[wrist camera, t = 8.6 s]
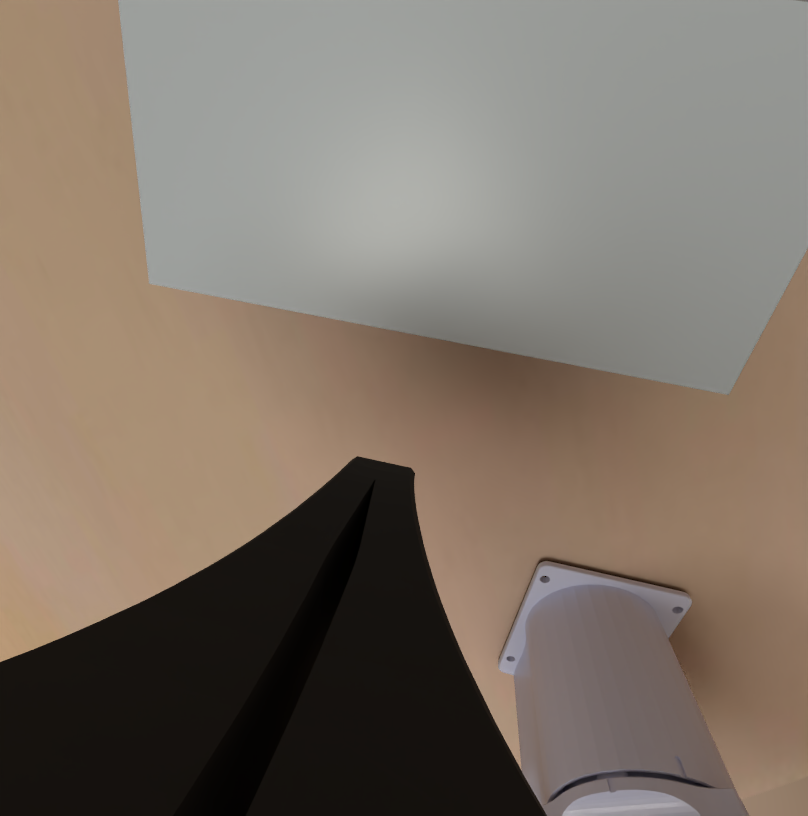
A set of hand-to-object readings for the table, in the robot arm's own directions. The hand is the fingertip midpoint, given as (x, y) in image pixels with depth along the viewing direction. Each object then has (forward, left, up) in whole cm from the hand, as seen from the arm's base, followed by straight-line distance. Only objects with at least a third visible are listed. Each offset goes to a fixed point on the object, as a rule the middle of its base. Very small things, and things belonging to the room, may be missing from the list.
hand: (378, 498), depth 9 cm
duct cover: (+7, 0, -7) cm, 10 cm away
